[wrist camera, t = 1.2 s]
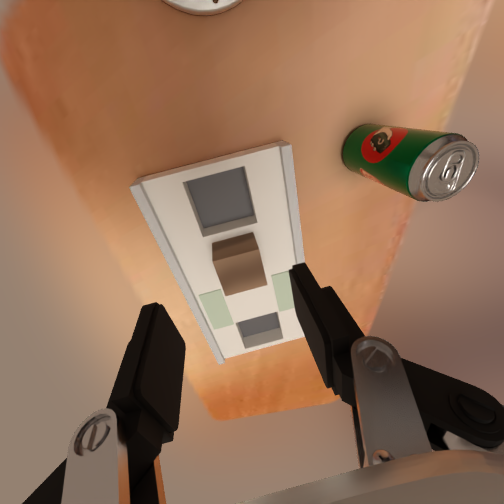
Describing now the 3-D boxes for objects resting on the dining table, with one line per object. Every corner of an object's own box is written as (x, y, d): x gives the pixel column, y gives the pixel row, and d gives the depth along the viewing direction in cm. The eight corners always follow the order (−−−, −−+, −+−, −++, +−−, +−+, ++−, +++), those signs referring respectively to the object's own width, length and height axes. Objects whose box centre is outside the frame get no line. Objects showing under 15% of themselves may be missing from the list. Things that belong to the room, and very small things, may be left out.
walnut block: (211, 242, 28) (212, 261, 25) (253, 231, 28) (259, 249, 25) (223, 275, 31) (225, 296, 27) (261, 265, 31) (267, 285, 27)
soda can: (336, 171, 28) (406, 207, 18) (345, 123, 26) (433, 134, 16) (375, 170, 29) (464, 205, 19) (388, 123, 27) (499, 134, 16)
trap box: (137, 178, 25) (128, 187, 23) (282, 140, 26) (291, 144, 23) (218, 347, 42) (218, 364, 39) (306, 323, 42) (313, 338, 39)
